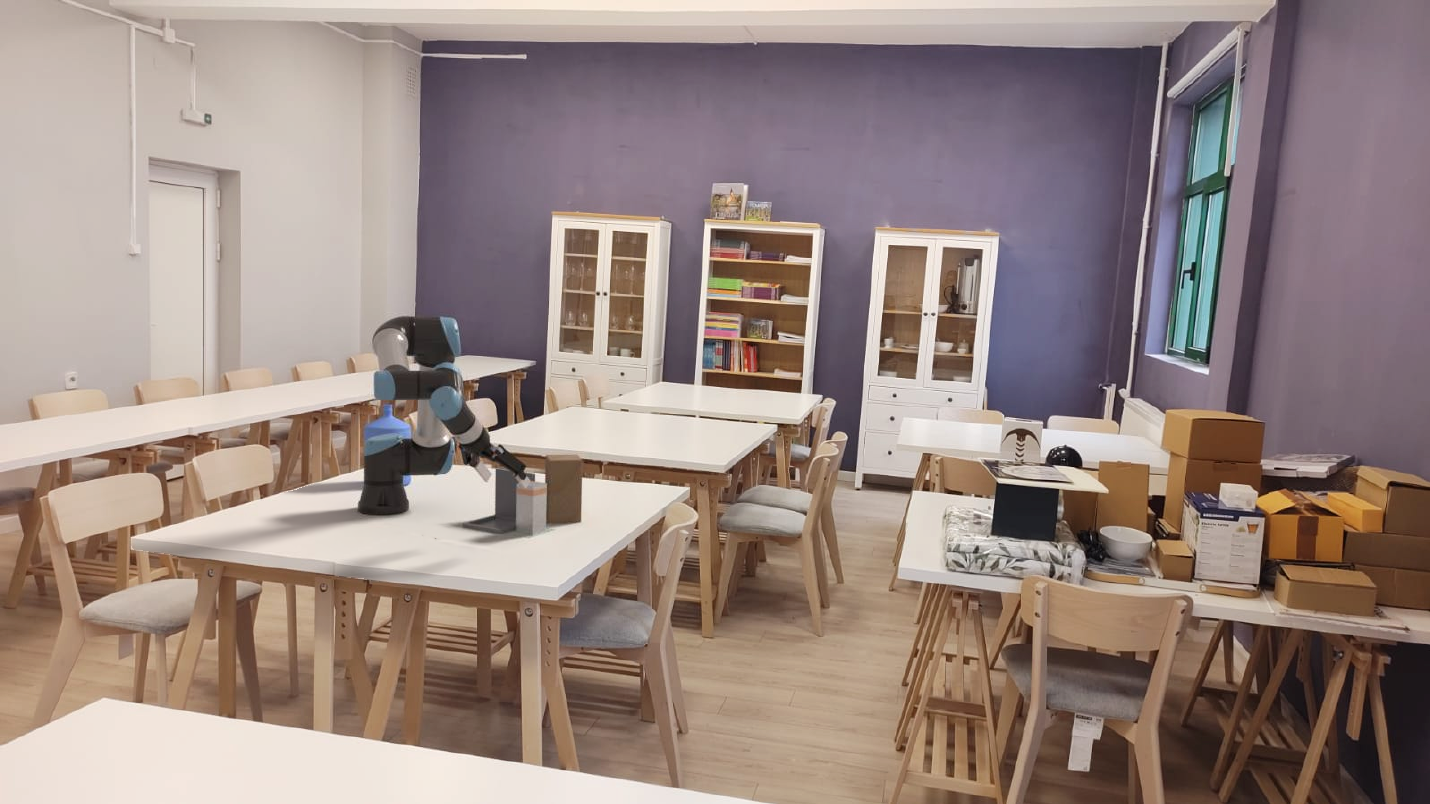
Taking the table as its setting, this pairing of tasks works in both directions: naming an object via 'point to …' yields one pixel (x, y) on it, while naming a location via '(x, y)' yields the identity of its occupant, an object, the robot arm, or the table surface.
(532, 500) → the block
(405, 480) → the water jug
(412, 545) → the table surface
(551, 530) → the sage board
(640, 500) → the table surface
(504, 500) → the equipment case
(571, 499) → the wooden block
